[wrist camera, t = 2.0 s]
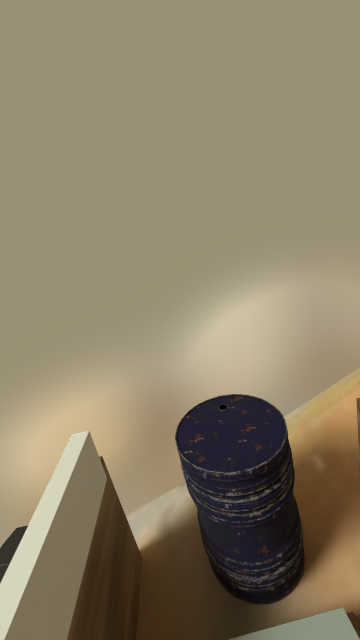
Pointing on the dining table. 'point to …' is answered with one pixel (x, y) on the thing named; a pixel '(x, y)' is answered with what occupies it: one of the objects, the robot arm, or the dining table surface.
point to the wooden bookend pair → (113, 574)
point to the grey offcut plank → (309, 629)
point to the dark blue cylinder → (244, 494)
